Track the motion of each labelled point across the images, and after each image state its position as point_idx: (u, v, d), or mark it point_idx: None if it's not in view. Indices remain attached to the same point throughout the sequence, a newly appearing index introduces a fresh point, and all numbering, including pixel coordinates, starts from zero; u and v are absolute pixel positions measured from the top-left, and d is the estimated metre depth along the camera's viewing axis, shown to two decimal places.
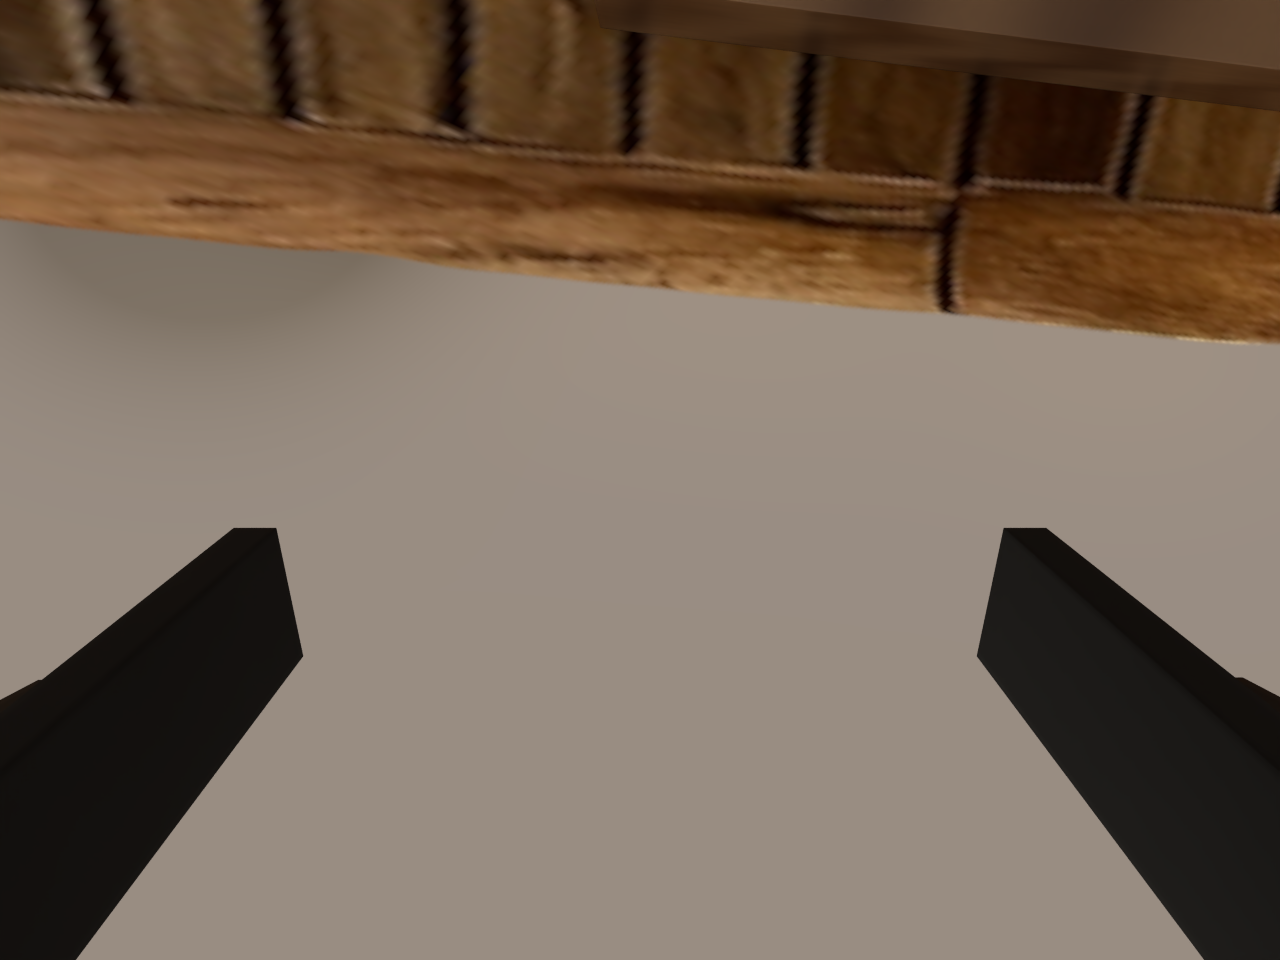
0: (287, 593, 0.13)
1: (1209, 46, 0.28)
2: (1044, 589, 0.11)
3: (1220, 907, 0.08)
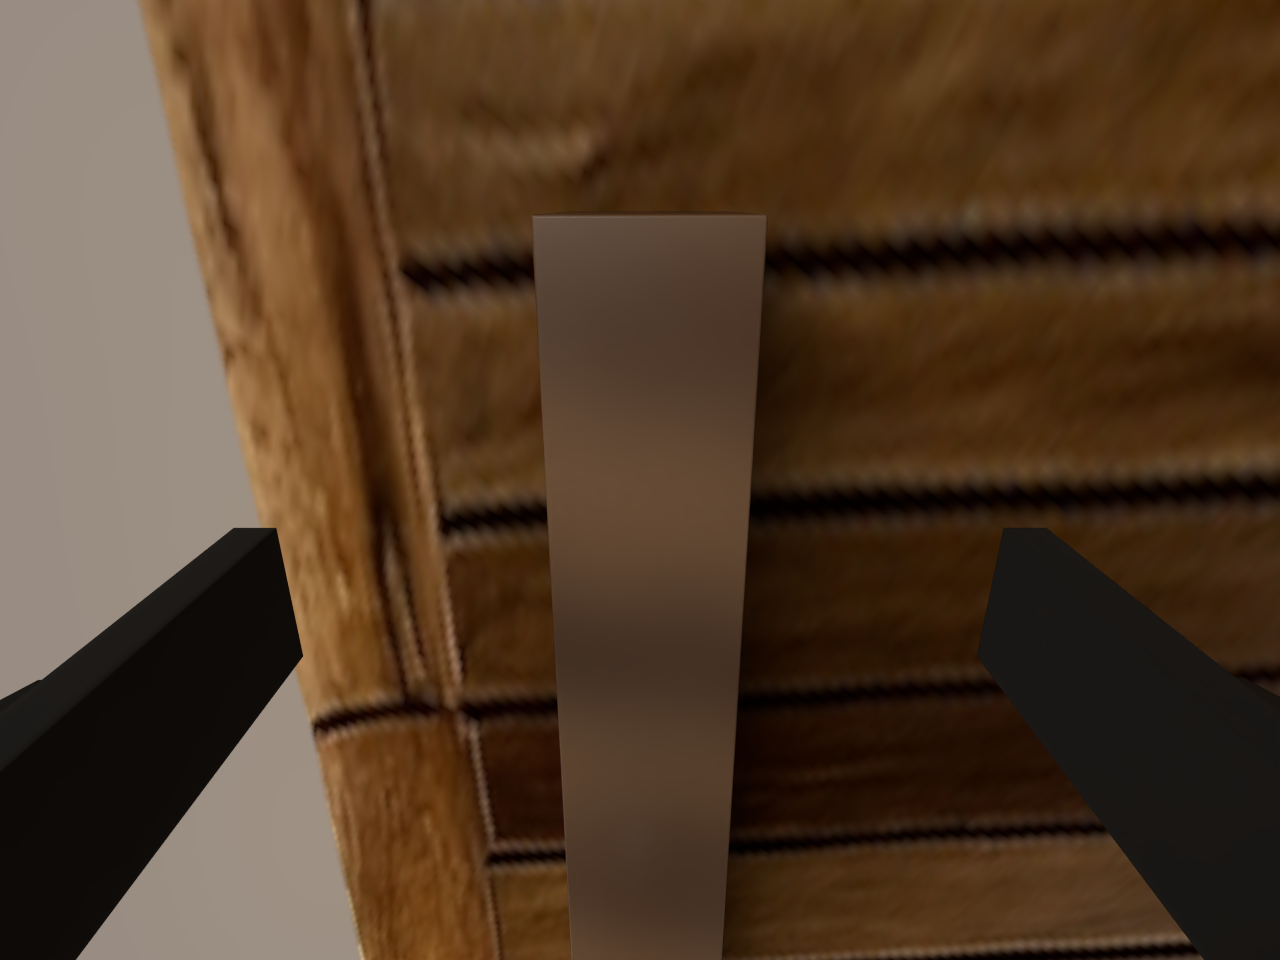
0: (287, 593, 0.13)
1: None
2: (1044, 590, 0.11)
3: (1220, 907, 0.08)
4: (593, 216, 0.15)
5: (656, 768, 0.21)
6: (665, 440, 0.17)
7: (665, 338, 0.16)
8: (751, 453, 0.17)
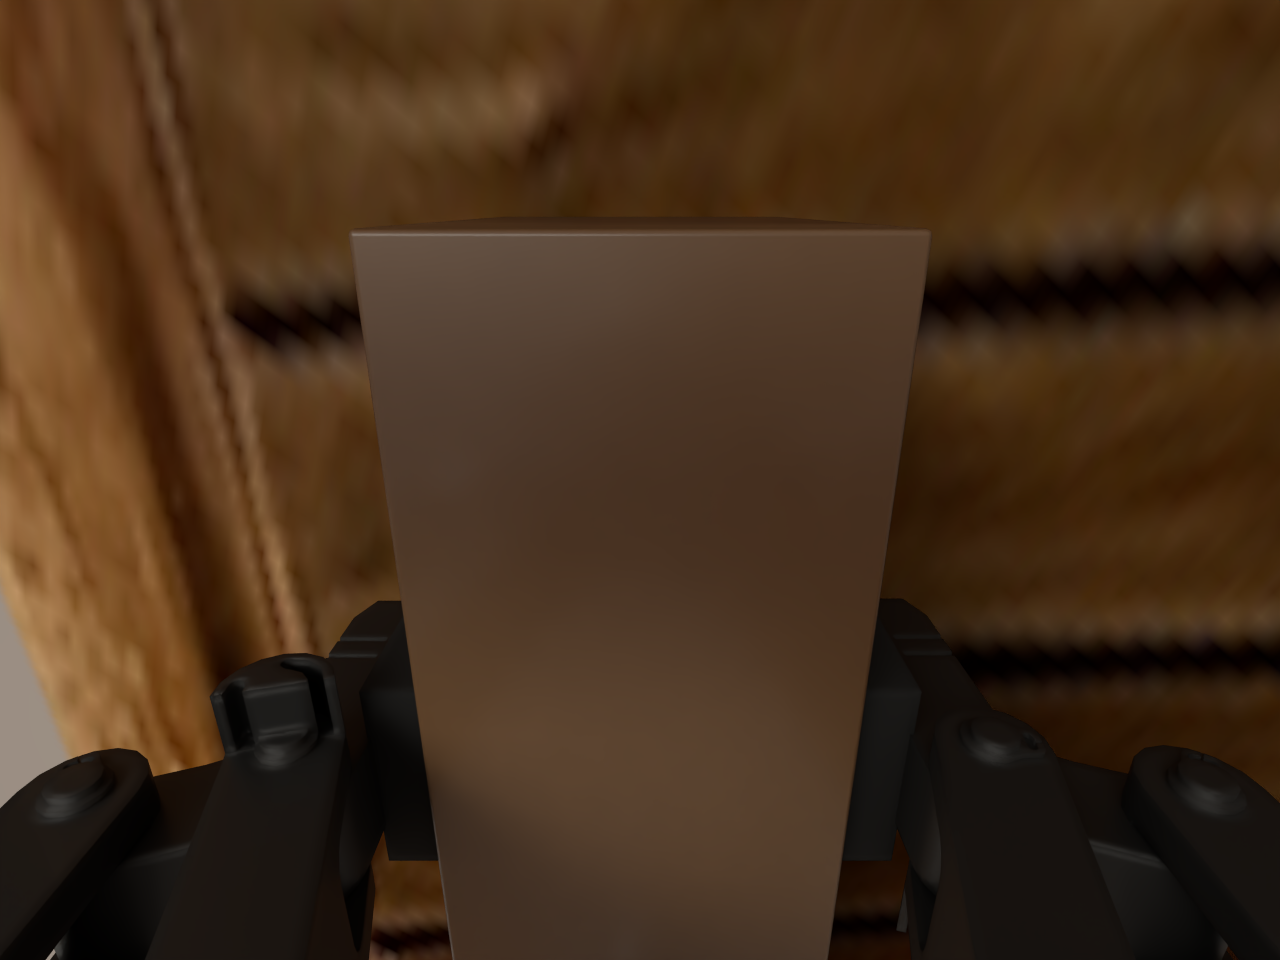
0: None
1: None
2: None
3: None
4: (501, 233, 0.06)
5: None
6: (676, 706, 0.08)
7: (678, 509, 0.07)
8: (858, 731, 0.08)
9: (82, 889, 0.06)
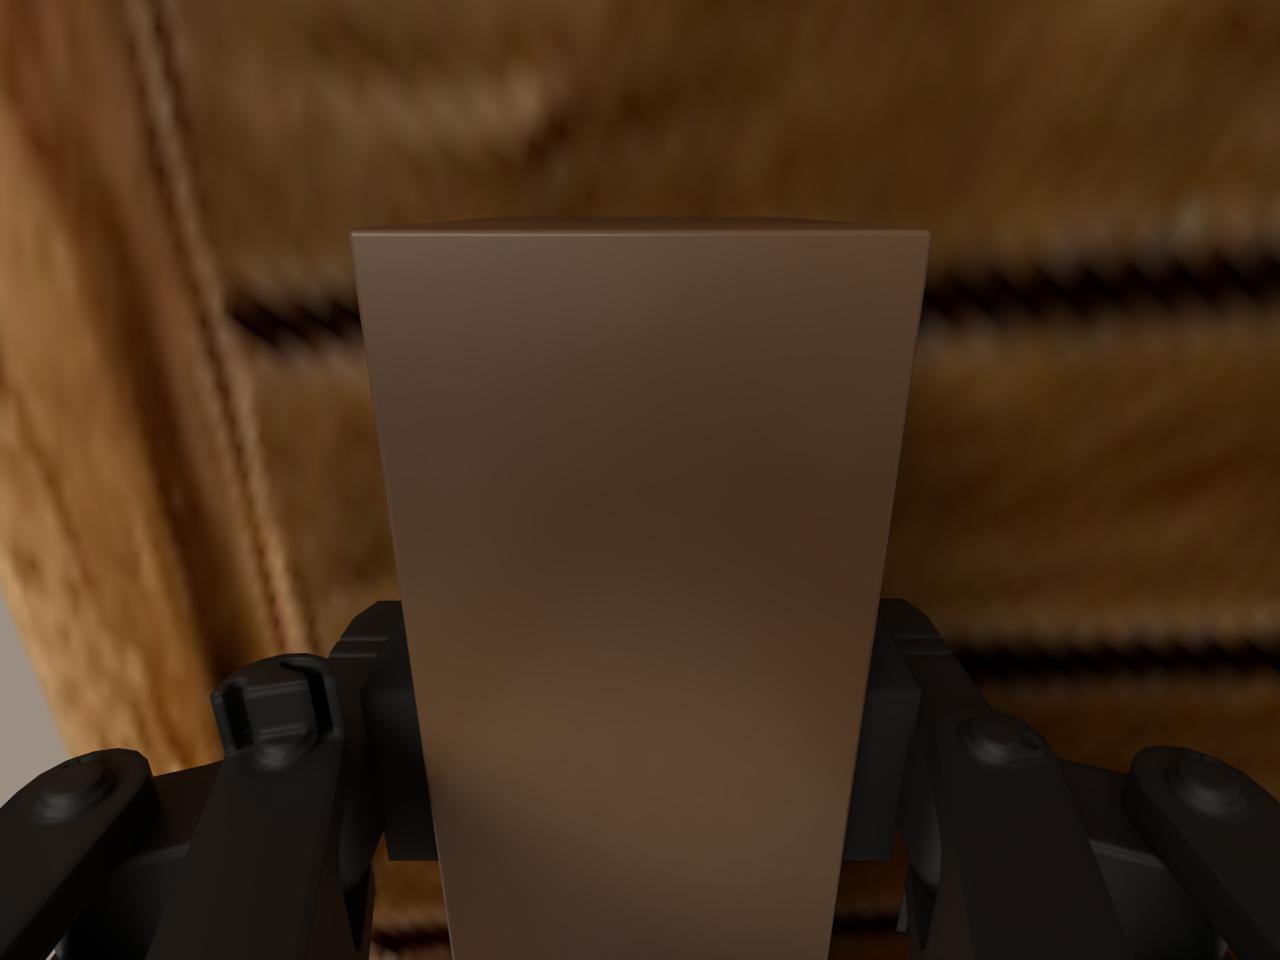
0: None
1: None
2: None
3: None
4: (501, 233, 0.06)
5: None
6: (676, 706, 0.08)
7: (678, 509, 0.07)
8: (858, 731, 0.08)
9: (82, 889, 0.06)
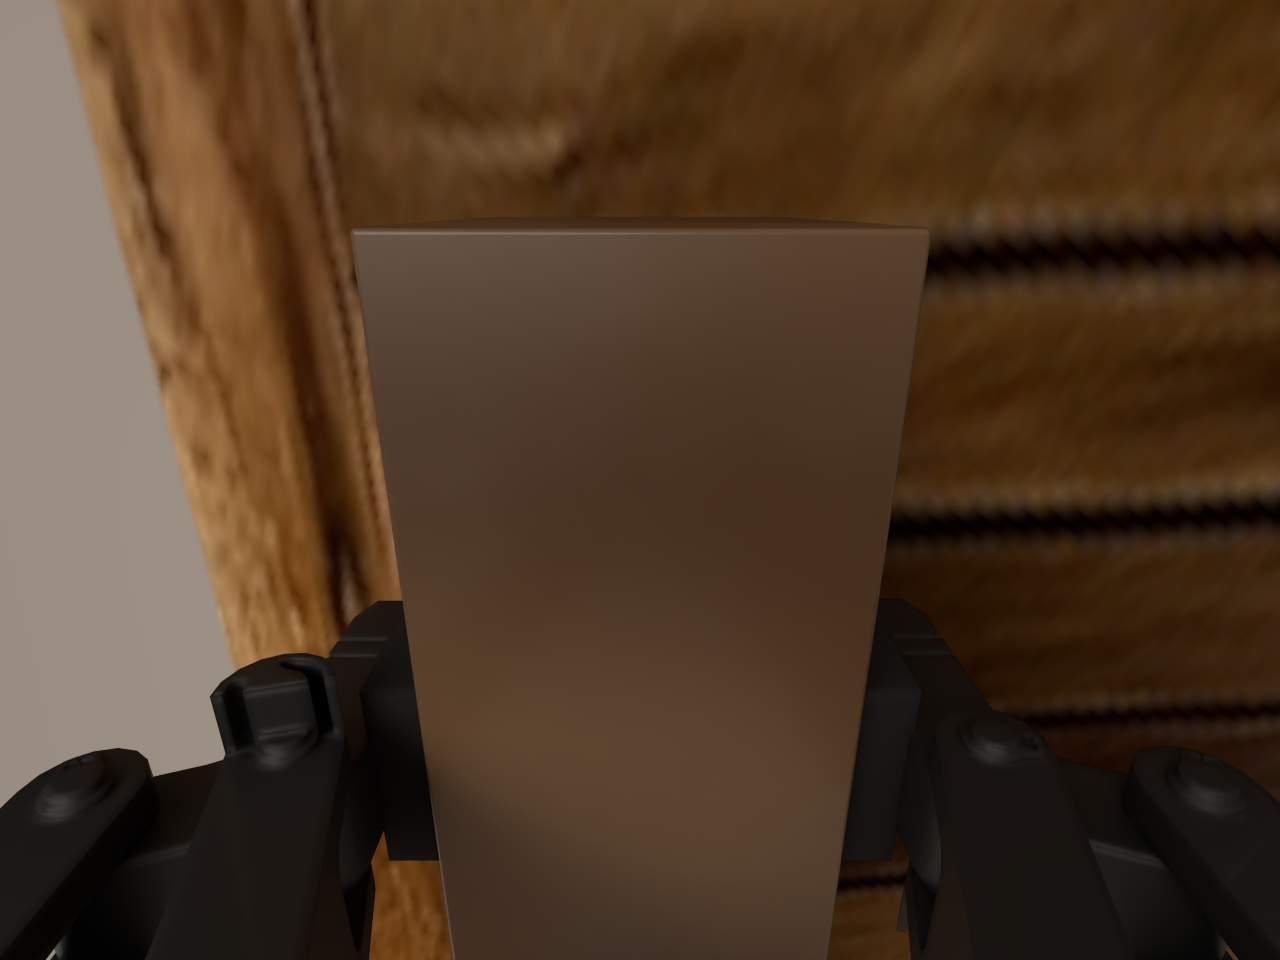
0: None
1: None
2: None
3: None
4: (502, 231, 0.06)
5: None
6: (677, 704, 0.08)
7: (679, 507, 0.07)
8: (857, 729, 0.08)
9: (82, 889, 0.06)
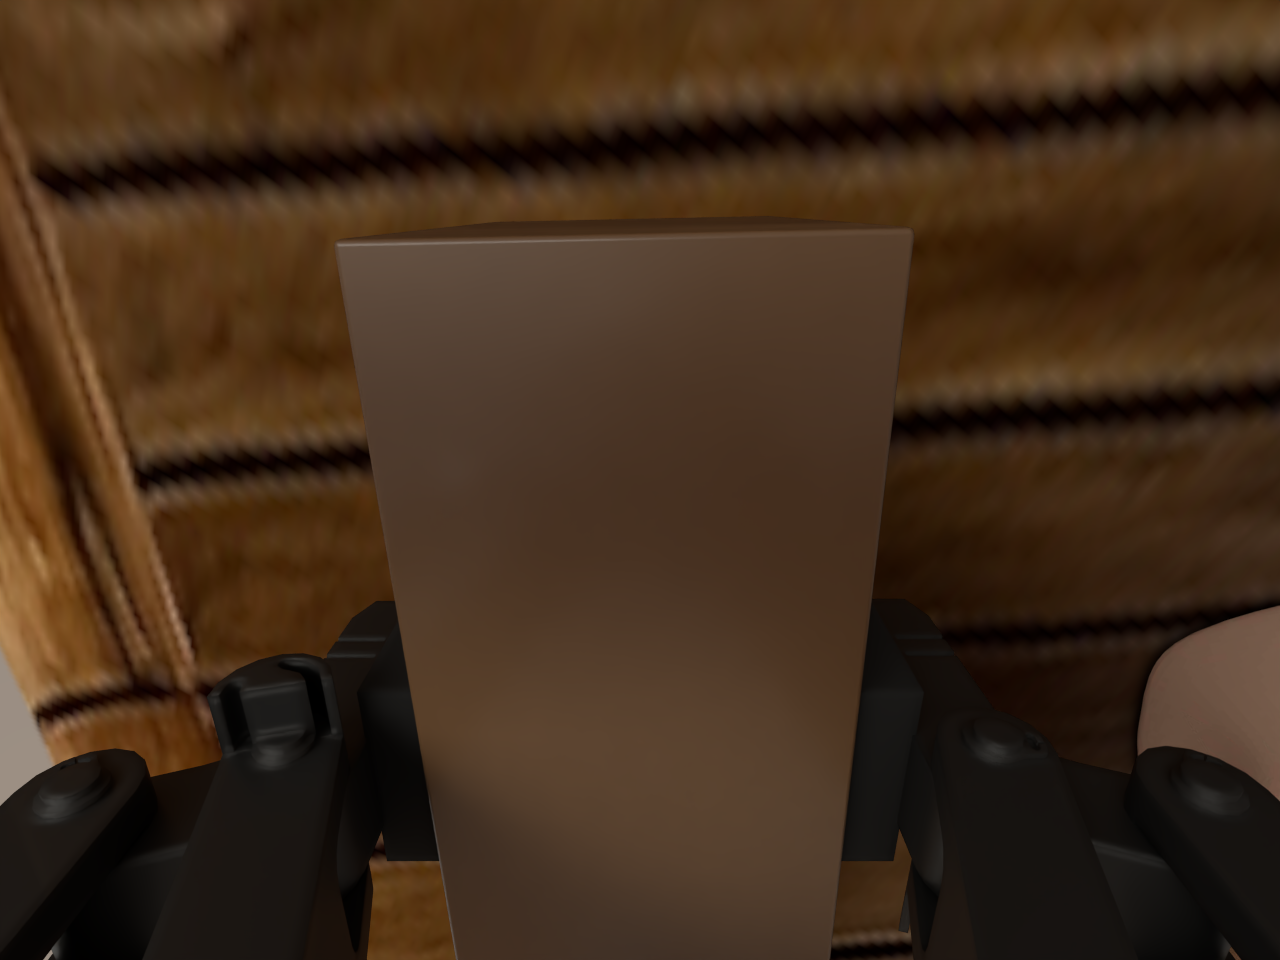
0: None
1: None
2: None
3: None
4: (485, 240, 0.06)
5: None
6: (672, 707, 0.08)
7: (669, 511, 0.07)
8: (854, 729, 0.08)
9: (79, 889, 0.06)
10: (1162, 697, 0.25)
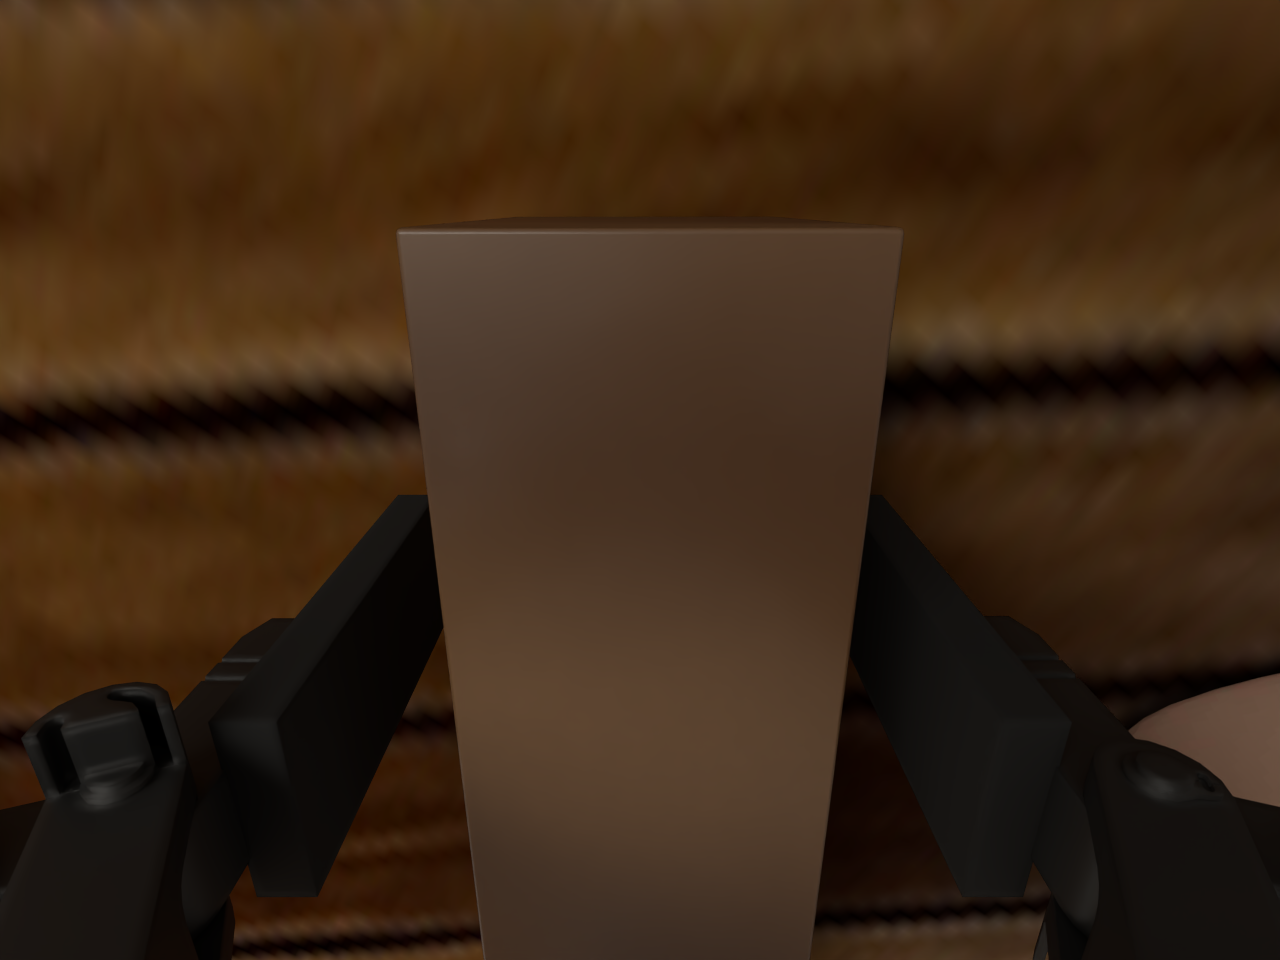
0: None
1: None
2: (864, 545, 0.12)
3: (945, 799, 0.09)
4: (529, 231, 0.07)
5: None
6: (681, 656, 0.09)
7: (683, 477, 0.08)
8: (844, 679, 0.09)
9: None
10: None
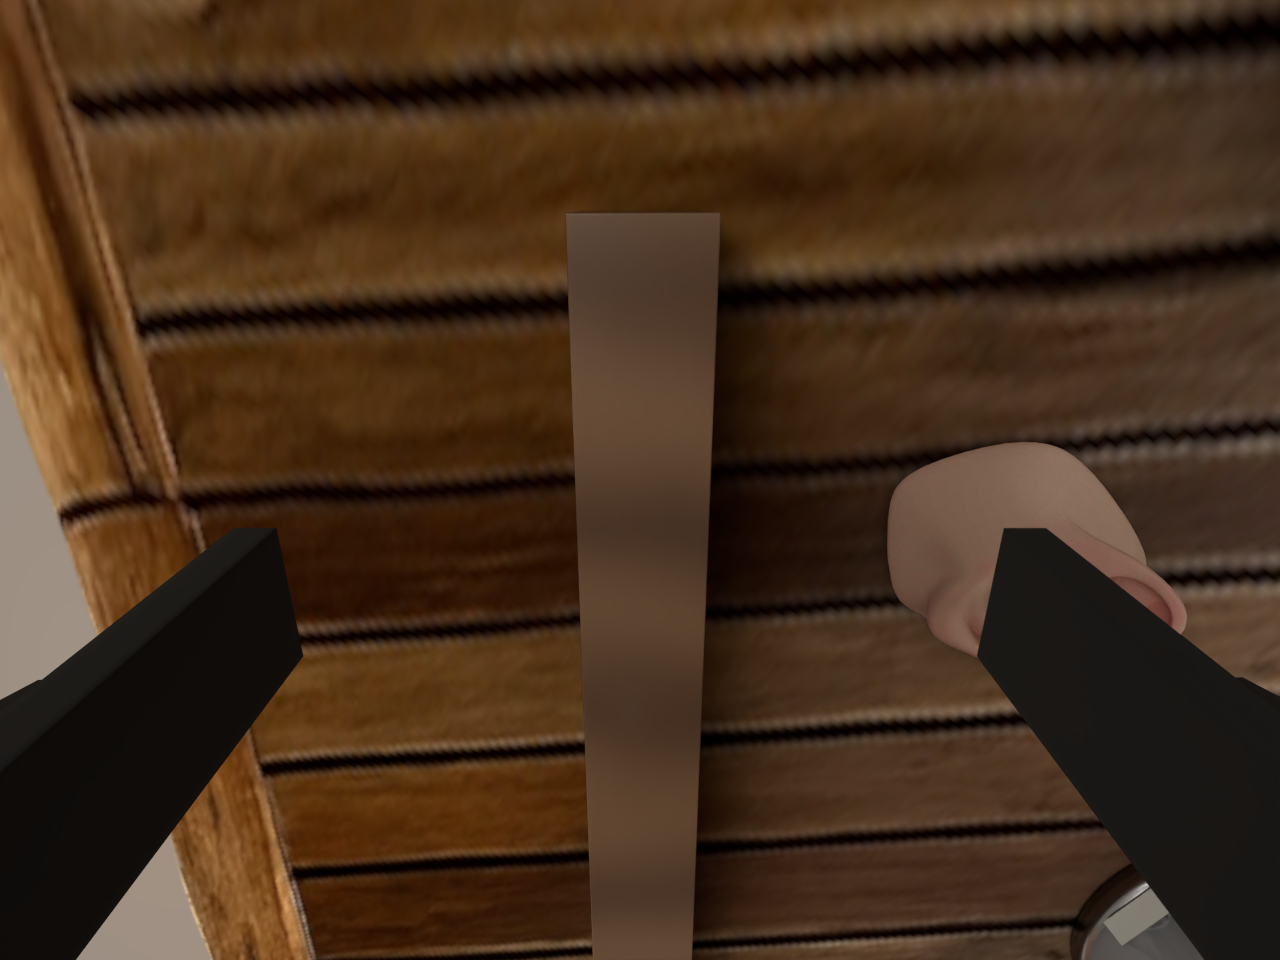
0: (287, 593, 0.13)
1: (597, 790, 0.32)
2: (1044, 589, 0.11)
3: (1221, 907, 0.08)
4: (606, 214, 0.23)
5: (649, 615, 0.28)
6: (654, 366, 0.25)
7: (654, 296, 0.24)
8: (713, 376, 0.25)
9: None
10: (898, 518, 0.34)
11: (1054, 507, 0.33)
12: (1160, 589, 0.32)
